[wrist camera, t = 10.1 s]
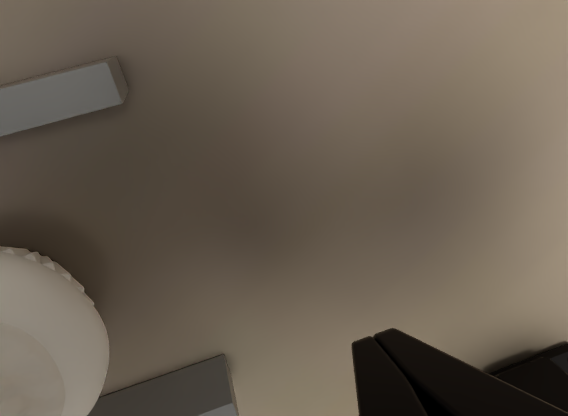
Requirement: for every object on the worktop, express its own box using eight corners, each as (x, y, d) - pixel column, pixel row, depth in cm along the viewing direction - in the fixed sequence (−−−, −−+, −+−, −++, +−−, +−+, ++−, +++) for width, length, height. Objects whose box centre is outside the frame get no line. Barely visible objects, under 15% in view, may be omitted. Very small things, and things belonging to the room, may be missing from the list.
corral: (230, 373, 18) (240, 424, 16) (-69, 481, 17) (-106, 553, 14) (116, 56, 13) (106, 61, 11) (-320, 166, 12) (-435, 200, 9)
